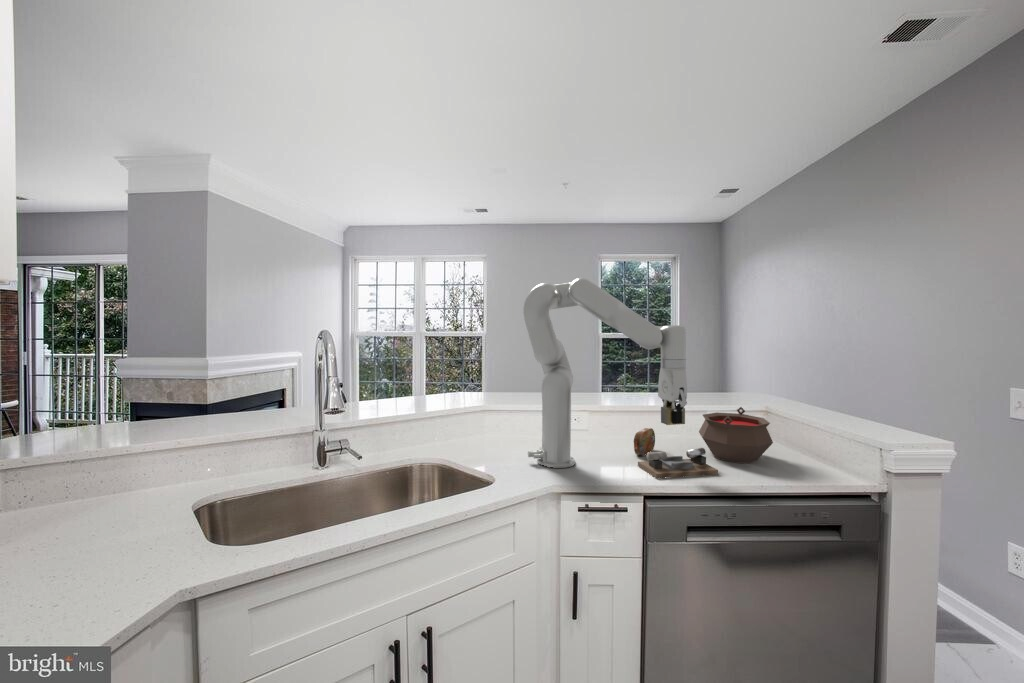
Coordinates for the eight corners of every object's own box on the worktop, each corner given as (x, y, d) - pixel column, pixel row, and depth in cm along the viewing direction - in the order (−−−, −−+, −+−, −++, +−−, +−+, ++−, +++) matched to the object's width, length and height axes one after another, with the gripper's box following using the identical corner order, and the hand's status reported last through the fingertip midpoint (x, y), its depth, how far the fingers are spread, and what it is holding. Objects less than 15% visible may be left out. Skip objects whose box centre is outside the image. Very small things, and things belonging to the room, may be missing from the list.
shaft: (694, 466, 144) (694, 452, 144) (683, 463, 148) (684, 449, 147) (707, 463, 148) (707, 449, 147) (696, 460, 151) (697, 446, 151)
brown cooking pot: (766, 472, 143) (768, 421, 143) (688, 458, 158) (689, 412, 157) (777, 455, 163) (778, 410, 162) (706, 443, 177) (707, 402, 176)
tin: (640, 458, 158) (641, 434, 157) (631, 456, 160) (632, 433, 159) (655, 449, 170) (656, 426, 169) (647, 447, 171) (648, 425, 171)
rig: (656, 478, 137) (656, 458, 137) (637, 466, 149) (638, 447, 149) (718, 474, 141) (718, 455, 141) (695, 462, 153) (696, 444, 153)
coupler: (667, 425, 141) (667, 409, 141) (660, 422, 145) (660, 406, 145) (685, 424, 142) (685, 408, 142) (678, 421, 146) (678, 405, 146)
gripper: (649, 362, 151) (649, 417, 151) (676, 367, 134) (676, 428, 135) (670, 361, 152) (670, 416, 153) (699, 366, 136) (699, 427, 136)
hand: (672, 421), depth 144 cm, fingers closed on coupler, 4 cm apart
